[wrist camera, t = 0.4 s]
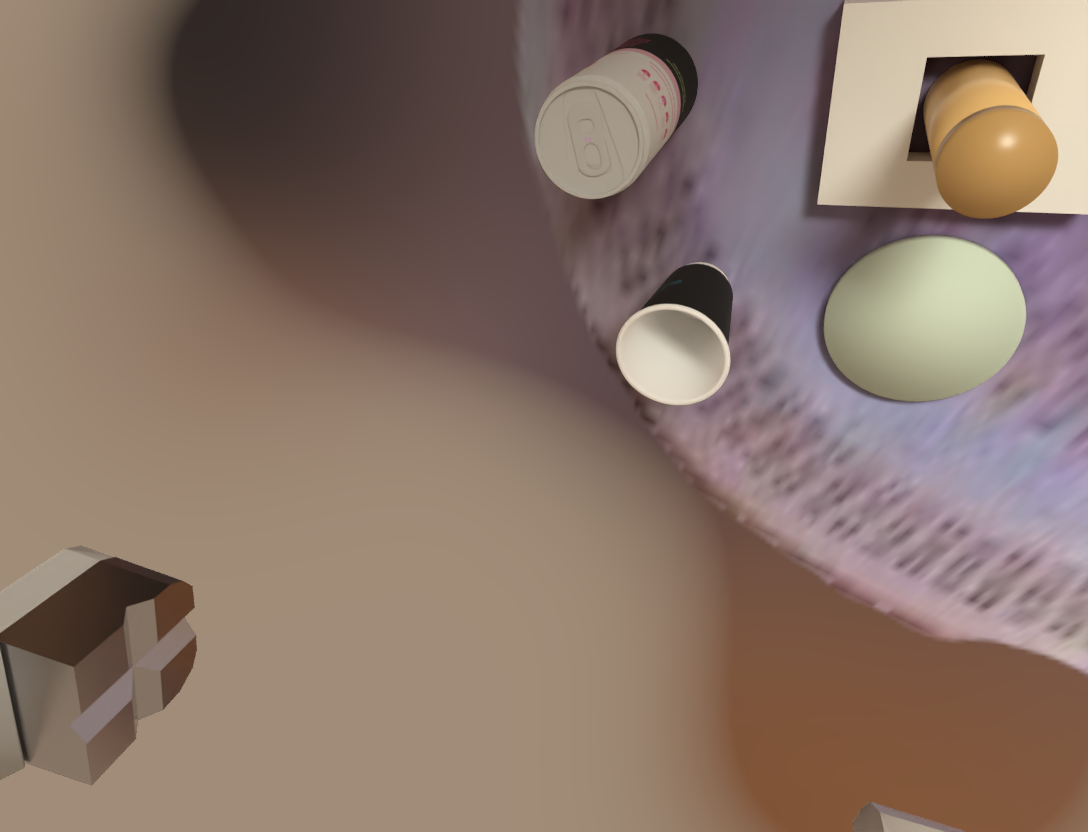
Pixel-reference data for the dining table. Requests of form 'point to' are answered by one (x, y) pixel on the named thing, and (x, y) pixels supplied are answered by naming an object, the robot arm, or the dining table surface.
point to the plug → (986, 141)
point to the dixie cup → (680, 337)
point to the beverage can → (615, 116)
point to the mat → (924, 318)
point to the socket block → (895, 82)
